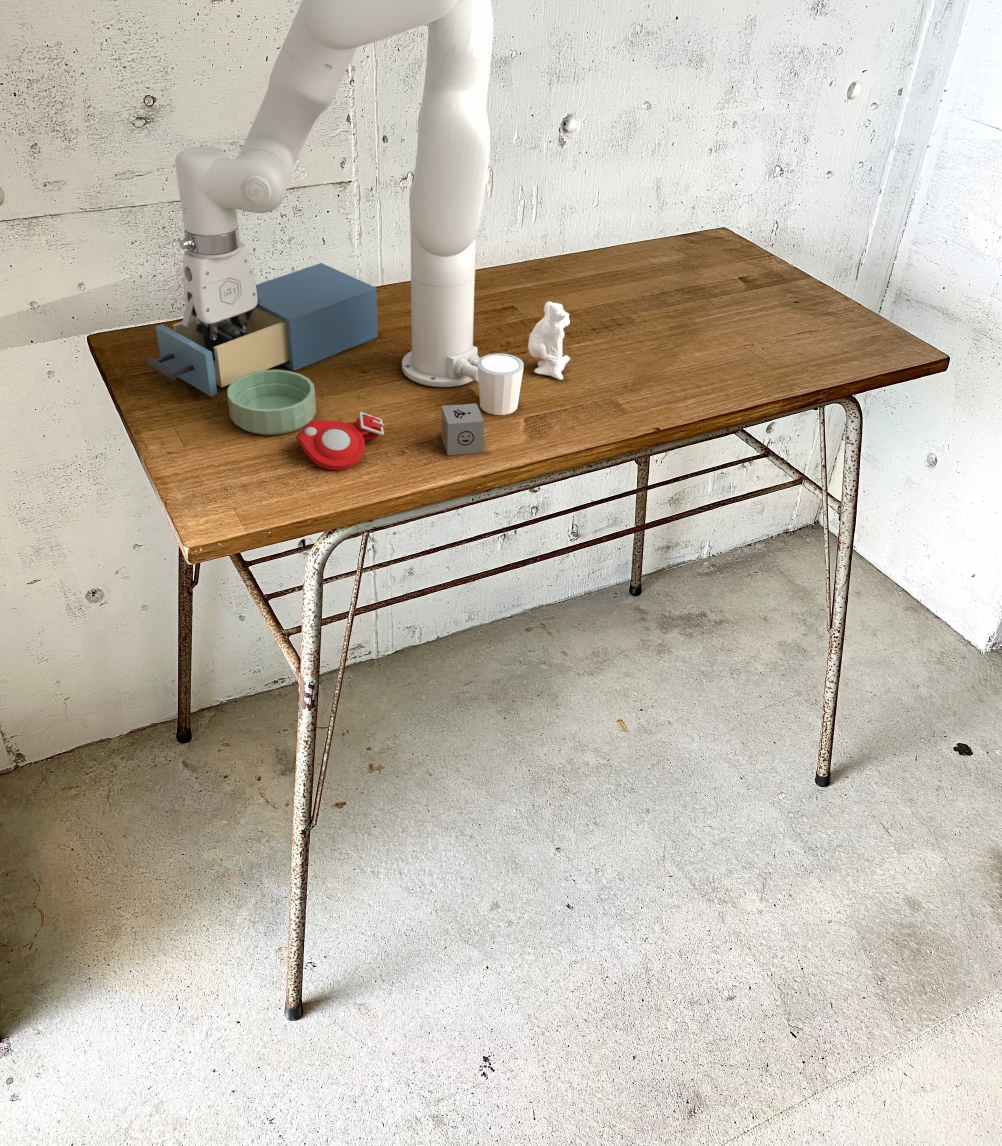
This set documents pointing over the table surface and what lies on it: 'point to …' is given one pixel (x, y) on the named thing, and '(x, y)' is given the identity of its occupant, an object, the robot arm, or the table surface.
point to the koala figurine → (550, 341)
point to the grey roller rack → (228, 332)
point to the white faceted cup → (499, 383)
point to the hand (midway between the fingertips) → (227, 354)
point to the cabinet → (320, 312)
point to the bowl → (271, 402)
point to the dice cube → (462, 429)
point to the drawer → (221, 353)
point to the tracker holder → (338, 440)
